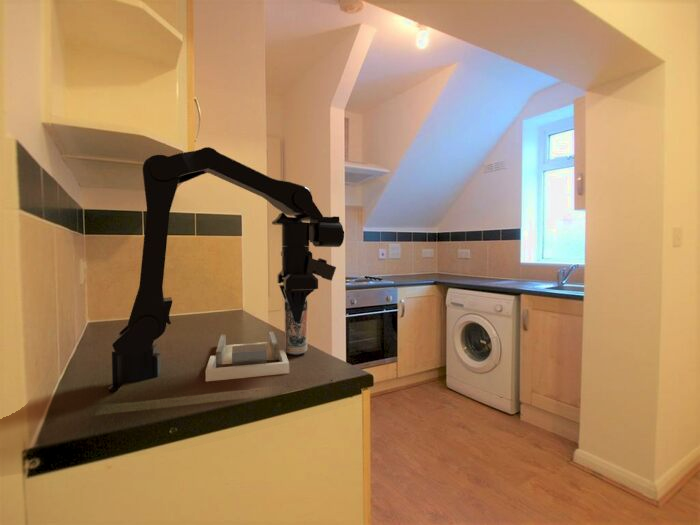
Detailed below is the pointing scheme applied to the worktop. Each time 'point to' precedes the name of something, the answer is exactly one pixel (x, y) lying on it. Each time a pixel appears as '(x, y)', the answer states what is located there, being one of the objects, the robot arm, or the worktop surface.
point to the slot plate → (226, 350)
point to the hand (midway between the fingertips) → (295, 319)
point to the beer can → (295, 331)
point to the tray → (246, 369)
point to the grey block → (249, 355)
